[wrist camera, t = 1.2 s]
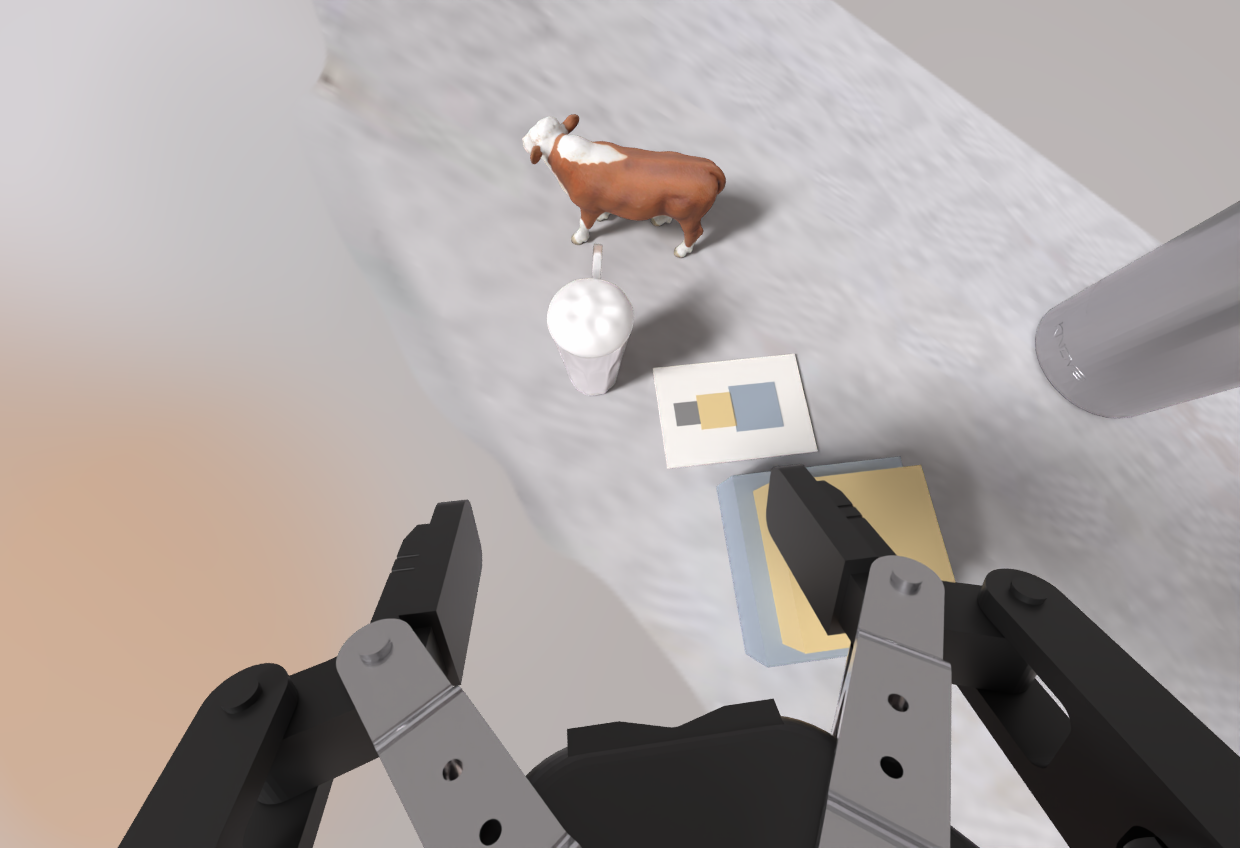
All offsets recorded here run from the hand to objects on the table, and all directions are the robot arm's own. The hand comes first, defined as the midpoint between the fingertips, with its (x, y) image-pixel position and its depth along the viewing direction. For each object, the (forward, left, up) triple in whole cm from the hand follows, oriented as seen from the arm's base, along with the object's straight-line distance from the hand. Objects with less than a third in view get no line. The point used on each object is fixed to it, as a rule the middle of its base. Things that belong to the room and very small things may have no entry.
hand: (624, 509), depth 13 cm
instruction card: (-9, -8, -18) cm, 22 cm away
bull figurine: (-3, -23, -18) cm, 29 cm away
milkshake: (0, -12, -18) cm, 22 cm away
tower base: (-12, +2, -18) cm, 22 cm away
